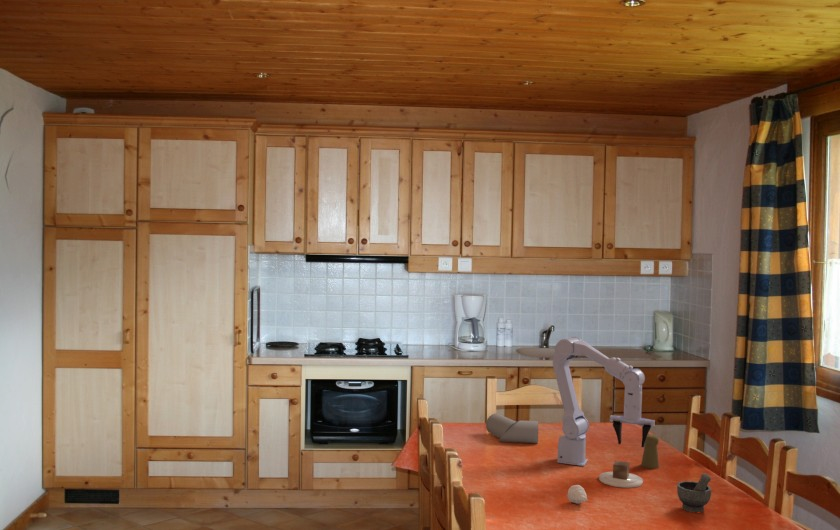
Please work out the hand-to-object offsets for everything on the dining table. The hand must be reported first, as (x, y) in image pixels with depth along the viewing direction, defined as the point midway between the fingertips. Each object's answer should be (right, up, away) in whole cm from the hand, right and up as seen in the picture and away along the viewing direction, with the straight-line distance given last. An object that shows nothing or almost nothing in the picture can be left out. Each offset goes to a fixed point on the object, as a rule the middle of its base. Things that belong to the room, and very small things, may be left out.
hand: (631, 445), depth 263 cm
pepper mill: (+9, -10, +10) cm, 17 cm away
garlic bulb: (-24, -11, -31) cm, 41 cm away
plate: (-6, -10, -7) cm, 14 cm away
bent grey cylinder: (-36, -8, +42) cm, 56 cm away
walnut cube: (-5, -9, -7) cm, 13 cm away
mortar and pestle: (+10, -12, -33) cm, 37 cm away
